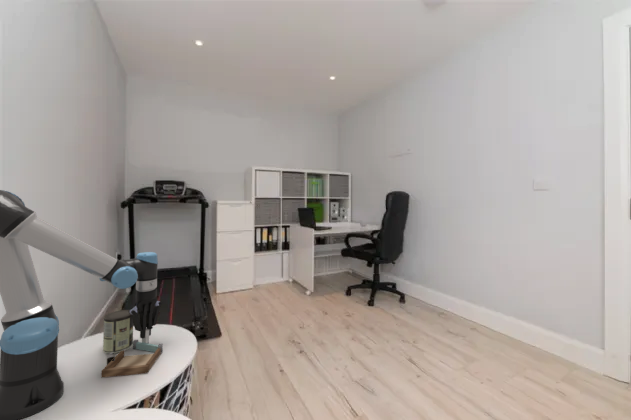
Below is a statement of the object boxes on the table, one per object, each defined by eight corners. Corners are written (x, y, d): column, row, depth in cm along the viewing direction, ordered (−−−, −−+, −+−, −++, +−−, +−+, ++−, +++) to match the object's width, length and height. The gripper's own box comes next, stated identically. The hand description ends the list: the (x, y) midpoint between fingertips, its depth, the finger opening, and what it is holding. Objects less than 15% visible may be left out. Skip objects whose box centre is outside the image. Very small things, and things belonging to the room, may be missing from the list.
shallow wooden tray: (101, 377, 90) (101, 370, 90) (120, 357, 103) (121, 350, 103) (147, 373, 93) (147, 366, 93) (160, 353, 106) (161, 347, 106)
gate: (131, 348, 109) (132, 340, 109) (135, 346, 110) (136, 338, 111) (160, 353, 106) (160, 345, 106) (163, 351, 107) (163, 343, 107)
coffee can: (118, 340, 116) (120, 308, 116) (138, 343, 114) (139, 310, 114) (95, 352, 106) (96, 317, 106) (117, 355, 104) (118, 320, 104)
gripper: (135, 294, 103) (134, 354, 103) (166, 286, 114) (165, 340, 114) (124, 291, 106) (123, 349, 106) (156, 284, 118) (155, 336, 118)
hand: (145, 344), depth 110 cm, fingers closed
